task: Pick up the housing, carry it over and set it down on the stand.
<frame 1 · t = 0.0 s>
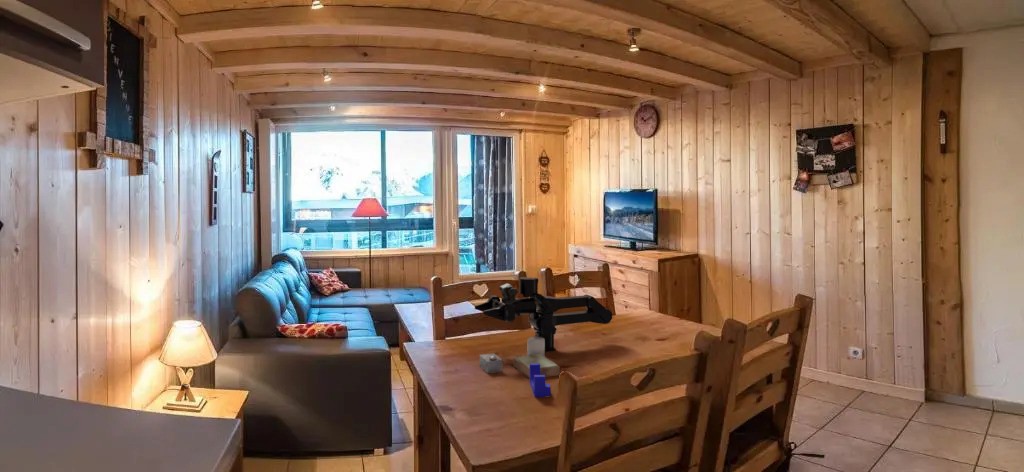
hand: (478, 310, 186), 17 cm above the table, tool horizontal, fingers open, 9 cm apart
light grey rounded cylinder: (536, 359, 185), on the table
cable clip: (539, 390, 156), on the table
stand: (536, 370, 173), on the table
housing: (490, 369, 174), on the table
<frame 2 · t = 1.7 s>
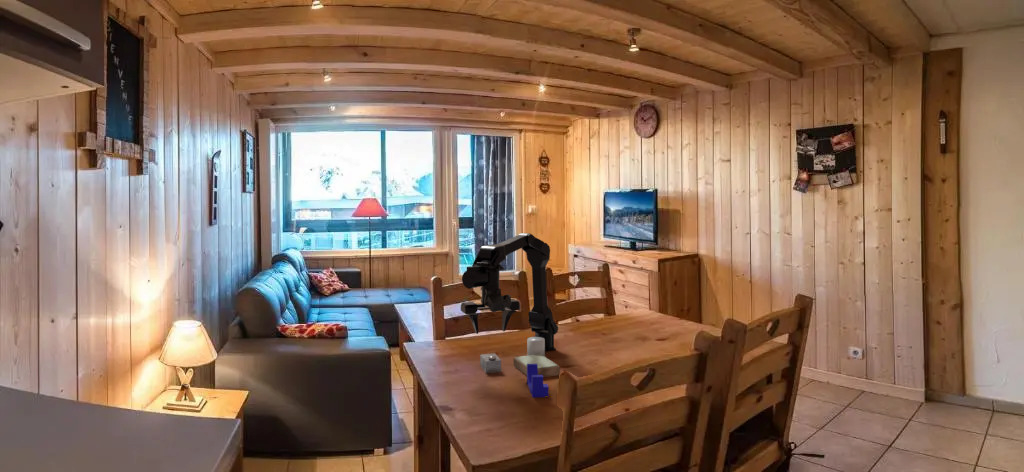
hand: (490, 332, 173), 12 cm above the table, tool pointing down, fingers open, 9 cm apart
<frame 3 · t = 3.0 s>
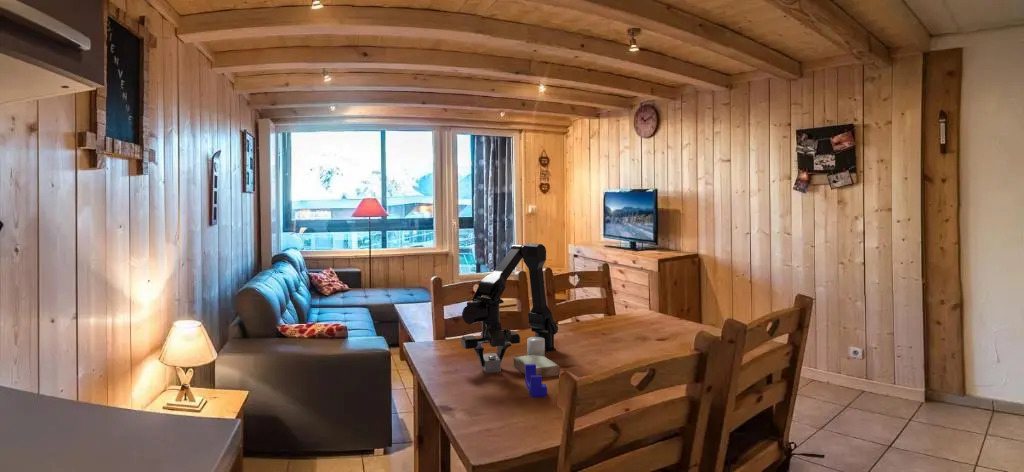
hand: (490, 365, 174), 1 cm above the table, tool pointing down, fingers closed on housing, 5 cm apart
housing: (490, 368, 174), on the table, touching gripper
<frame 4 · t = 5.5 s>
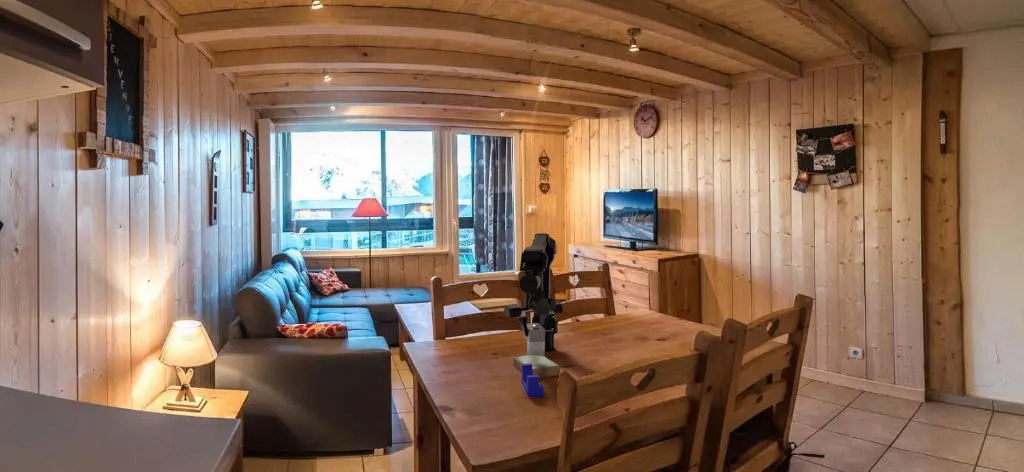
hand: (533, 335, 172), 11 cm above the table, tool pointing down, fingers closed on housing, 5 cm apart
housing: (533, 338, 172), point 10 cm above the table, touching gripper
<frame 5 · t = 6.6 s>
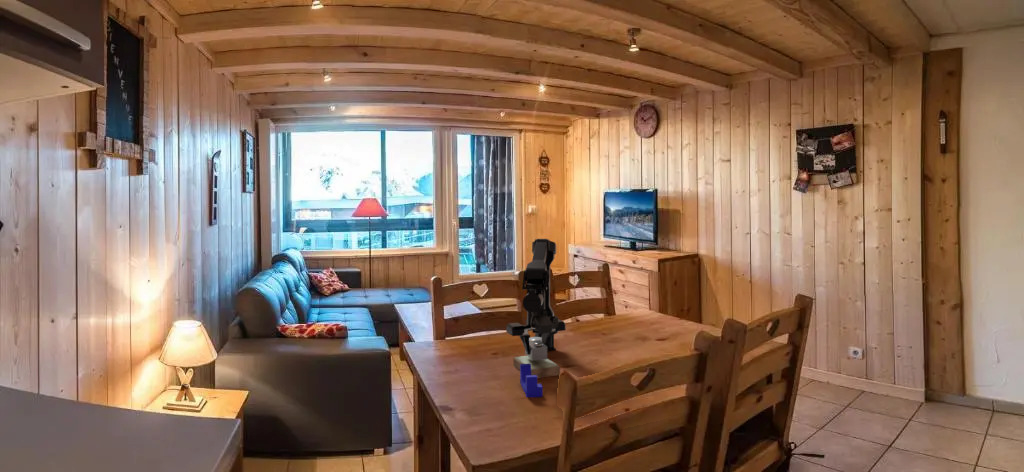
hand: (536, 353, 172), 6 cm above the table, tool pointing down, fingers closed on housing, 5 cm apart
housing: (536, 356, 172), point 5 cm above the table, touching gripper
when the fingers open (5 cm above the table, at t = 7.5 s): housing stays where it is, resting on stand.
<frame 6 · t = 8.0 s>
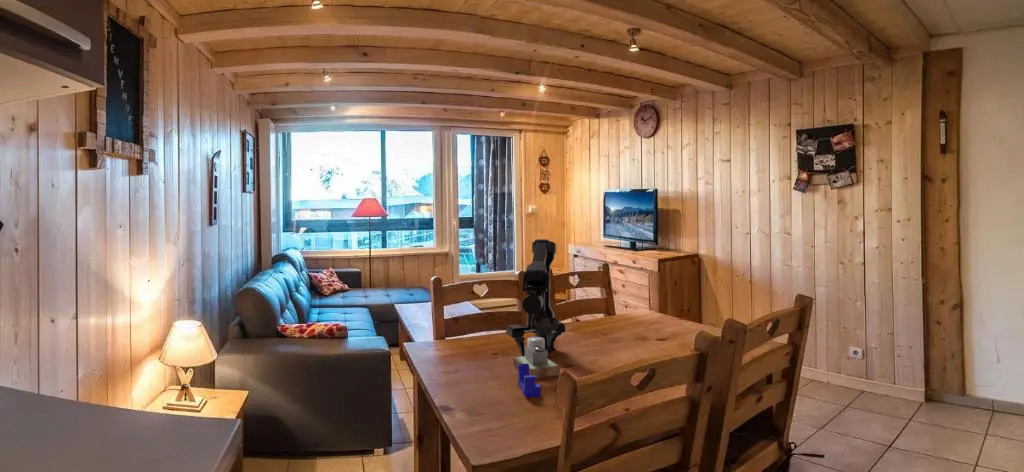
hand: (536, 355, 172), 5 cm above the table, tool pointing down, fingers open, 9 cm apart
housing: (536, 360, 173), point 3 cm above the table, touching stand
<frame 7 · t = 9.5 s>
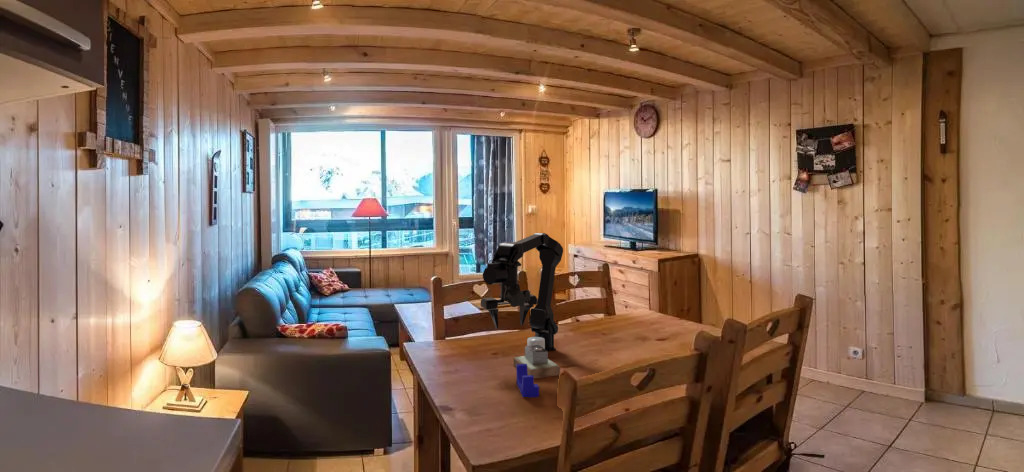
hand: (509, 326, 180), 12 cm above the table, tool pointing down, fingers open, 9 cm apart
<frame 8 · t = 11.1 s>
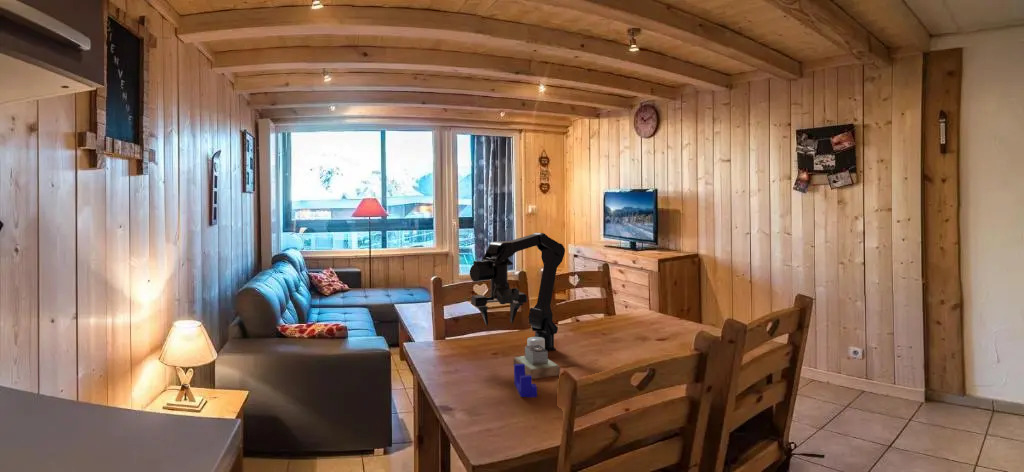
hand: (499, 323, 183), 12 cm above the table, tool pointing down, fingers open, 9 cm apart
at the end: housing inside the target area on the stand (0.2 cm from its centre), point 3.0 cm above the stand's base; housing touching stand; the gripper is holding nothing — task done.
